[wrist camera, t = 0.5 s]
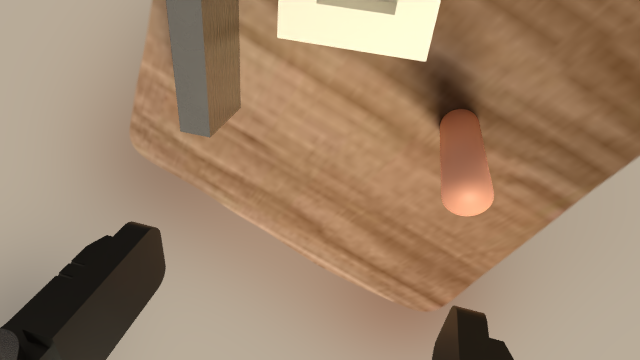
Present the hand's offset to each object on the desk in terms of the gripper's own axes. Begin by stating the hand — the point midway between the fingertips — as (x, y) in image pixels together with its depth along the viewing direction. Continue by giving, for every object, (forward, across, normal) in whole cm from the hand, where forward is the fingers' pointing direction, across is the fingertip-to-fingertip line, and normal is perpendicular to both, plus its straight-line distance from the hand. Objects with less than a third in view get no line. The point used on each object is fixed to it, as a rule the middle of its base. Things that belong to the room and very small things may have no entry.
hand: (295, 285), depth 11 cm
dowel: (+24, -7, +5) cm, 26 cm away
